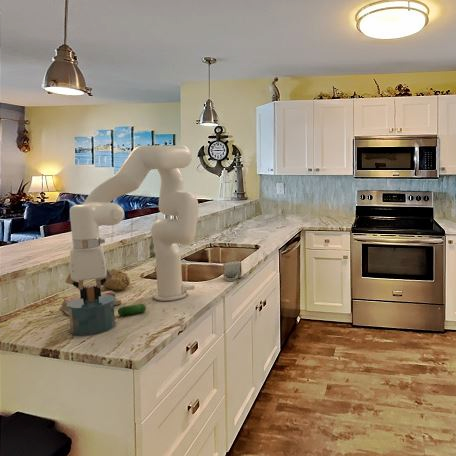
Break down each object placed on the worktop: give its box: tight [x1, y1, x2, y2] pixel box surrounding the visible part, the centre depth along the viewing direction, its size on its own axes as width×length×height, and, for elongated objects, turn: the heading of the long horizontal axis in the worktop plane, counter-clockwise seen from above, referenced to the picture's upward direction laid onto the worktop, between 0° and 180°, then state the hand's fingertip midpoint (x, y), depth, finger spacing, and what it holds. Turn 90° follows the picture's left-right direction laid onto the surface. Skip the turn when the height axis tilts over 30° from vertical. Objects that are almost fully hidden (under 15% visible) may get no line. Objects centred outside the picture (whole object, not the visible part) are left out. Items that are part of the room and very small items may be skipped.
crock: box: [68, 303, 116, 336], centre depth 134 cm, size 13×13×8 cm
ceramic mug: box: [222, 261, 243, 282], centre depth 193 cm, size 11×8×8 cm
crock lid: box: [67, 284, 116, 310], centre depth 133 cm, size 14×14×6 cm
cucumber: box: [117, 303, 147, 317], centre depth 147 cm, size 9×3×3 cm, turn 117°
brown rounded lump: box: [100, 269, 131, 290], centre depth 179 cm, size 13×8×20 cm
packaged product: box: [60, 290, 122, 316], centre depth 154 cm, size 18×5×10 cm
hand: (91, 299), depth 133 cm, fingers closed on crock lid, 3 cm apart
